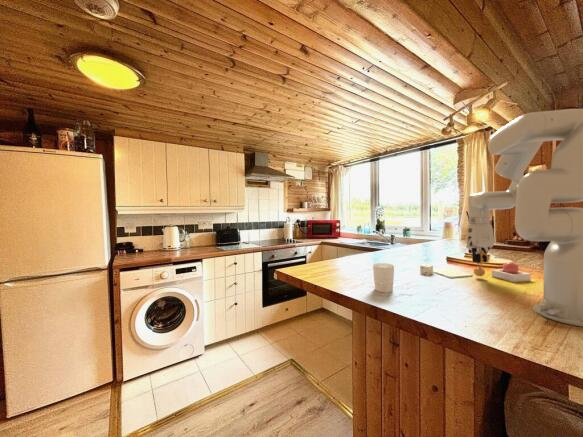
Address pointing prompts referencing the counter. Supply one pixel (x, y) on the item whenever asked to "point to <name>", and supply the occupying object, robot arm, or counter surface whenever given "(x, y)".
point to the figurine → (479, 270)
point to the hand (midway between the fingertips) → (479, 261)
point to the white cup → (383, 277)
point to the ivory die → (426, 269)
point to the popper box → (511, 276)
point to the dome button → (510, 268)
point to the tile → (451, 273)
